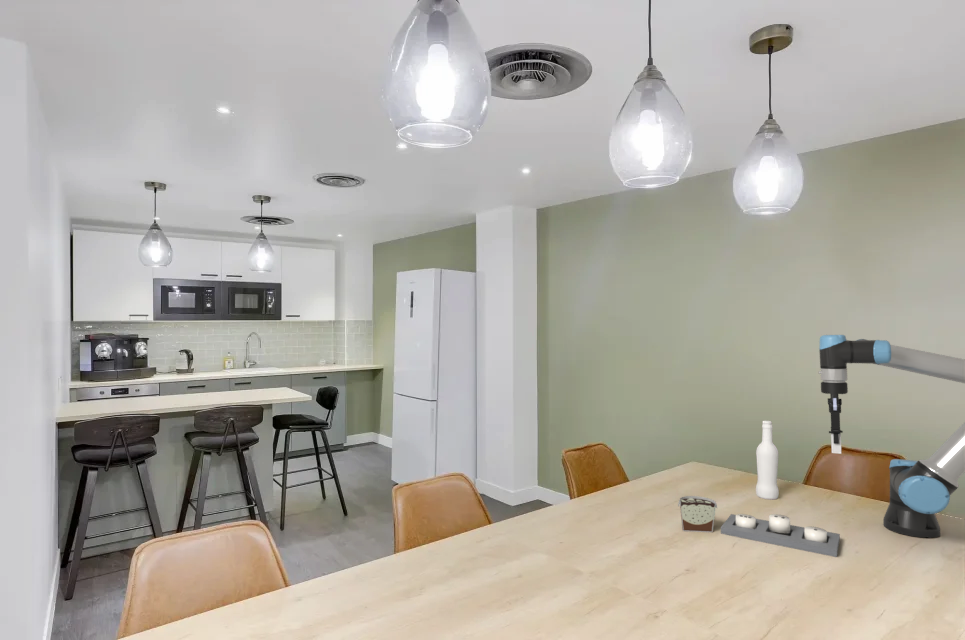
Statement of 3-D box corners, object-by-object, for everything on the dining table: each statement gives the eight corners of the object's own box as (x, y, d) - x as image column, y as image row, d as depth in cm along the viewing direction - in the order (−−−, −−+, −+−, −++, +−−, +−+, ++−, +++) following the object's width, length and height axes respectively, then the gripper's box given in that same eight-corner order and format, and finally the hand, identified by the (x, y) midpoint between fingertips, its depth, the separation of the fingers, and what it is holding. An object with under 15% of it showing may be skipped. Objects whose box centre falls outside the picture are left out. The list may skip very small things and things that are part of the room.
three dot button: (757, 528, 188) (757, 515, 189) (753, 533, 184) (753, 520, 184) (737, 524, 192) (737, 512, 192) (733, 529, 187) (733, 517, 187)
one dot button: (827, 542, 177) (827, 528, 177) (826, 548, 172) (826, 534, 172) (805, 537, 181) (805, 524, 181) (803, 543, 176) (803, 530, 176)
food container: (711, 525, 192) (711, 496, 192) (717, 532, 185) (717, 501, 186) (673, 524, 193) (674, 494, 193) (678, 530, 187) (678, 500, 187)
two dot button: (791, 529, 183) (791, 516, 183) (788, 534, 178) (788, 521, 178) (770, 525, 186) (770, 512, 186) (767, 530, 181) (767, 517, 181)
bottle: (782, 500, 221) (782, 422, 221) (761, 499, 221) (761, 422, 221) (772, 494, 229) (772, 419, 229) (752, 493, 229) (752, 419, 229)
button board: (839, 540, 179) (839, 533, 180) (836, 557, 166) (836, 550, 166) (731, 519, 198) (731, 514, 198) (720, 533, 185) (720, 527, 185)
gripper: (820, 379, 196) (823, 448, 195) (820, 382, 185) (823, 455, 184) (846, 380, 192) (849, 450, 191) (847, 383, 181) (850, 458, 180)
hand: (836, 452), depth 188 cm, fingers closed
